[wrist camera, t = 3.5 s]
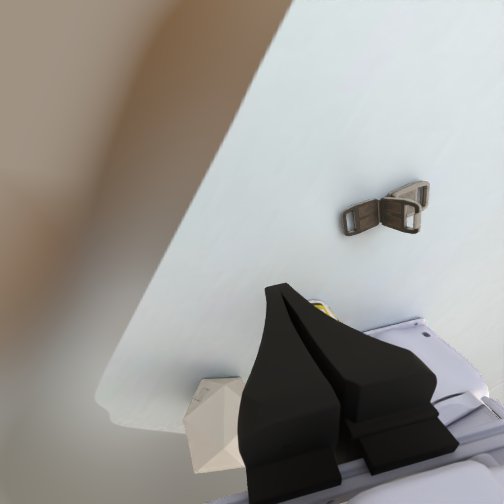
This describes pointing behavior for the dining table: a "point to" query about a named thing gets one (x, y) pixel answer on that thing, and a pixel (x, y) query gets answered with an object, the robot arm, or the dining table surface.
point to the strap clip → (390, 210)
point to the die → (214, 425)
